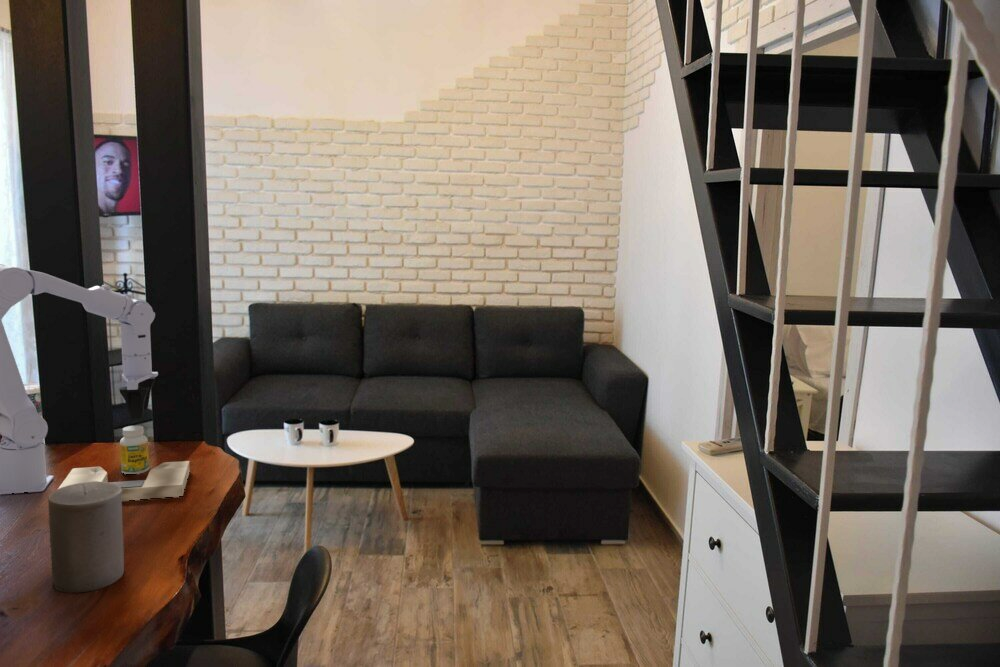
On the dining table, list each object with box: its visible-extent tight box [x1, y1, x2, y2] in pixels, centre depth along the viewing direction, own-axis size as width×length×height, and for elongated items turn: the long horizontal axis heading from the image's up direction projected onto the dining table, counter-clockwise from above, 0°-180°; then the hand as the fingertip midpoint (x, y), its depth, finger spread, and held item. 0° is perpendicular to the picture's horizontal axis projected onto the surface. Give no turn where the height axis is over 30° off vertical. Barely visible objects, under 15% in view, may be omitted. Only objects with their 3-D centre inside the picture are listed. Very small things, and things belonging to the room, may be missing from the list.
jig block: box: [57, 460, 191, 502], centre depth 145 cm, size 22×14×3 cm, turn 108°
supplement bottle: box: [119, 425, 150, 475], centre depth 153 cm, size 5×5×10 cm
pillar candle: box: [47, 481, 125, 594], centre depth 109 cm, size 10×10×15 cm
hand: (139, 413), depth 160 cm, fingers open, 7 cm apart
